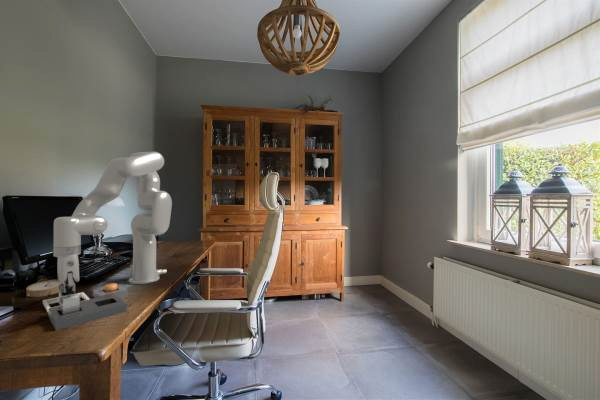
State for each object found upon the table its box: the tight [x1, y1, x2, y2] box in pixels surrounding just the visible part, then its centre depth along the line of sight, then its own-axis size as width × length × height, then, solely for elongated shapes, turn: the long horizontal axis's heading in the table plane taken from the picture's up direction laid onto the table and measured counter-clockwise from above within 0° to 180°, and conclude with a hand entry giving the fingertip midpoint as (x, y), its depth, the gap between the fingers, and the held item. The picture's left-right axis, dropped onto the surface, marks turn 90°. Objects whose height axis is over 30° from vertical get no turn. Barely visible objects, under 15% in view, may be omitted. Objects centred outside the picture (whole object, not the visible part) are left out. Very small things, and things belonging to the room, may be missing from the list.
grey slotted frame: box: [48, 294, 128, 331], centre depth 89 cm, size 18×14×3 cm
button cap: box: [104, 282, 118, 293], centre depth 105 cm, size 4×4×2 cm
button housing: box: [93, 284, 129, 299], centre depth 105 cm, size 9×9×3 cm
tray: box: [42, 291, 90, 313], centre depth 98 cm, size 12×12×2 cm
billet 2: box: [61, 292, 81, 316], centre depth 86 cm, size 4×4×7 cm
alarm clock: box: [26, 277, 61, 298], centre depth 111 cm, size 11×5×15 cm
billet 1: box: [58, 282, 76, 306], centre depth 98 cm, size 4×4×7 cm
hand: (67, 300), depth 98 cm, fingers closed on billet 1, 4 cm apart
